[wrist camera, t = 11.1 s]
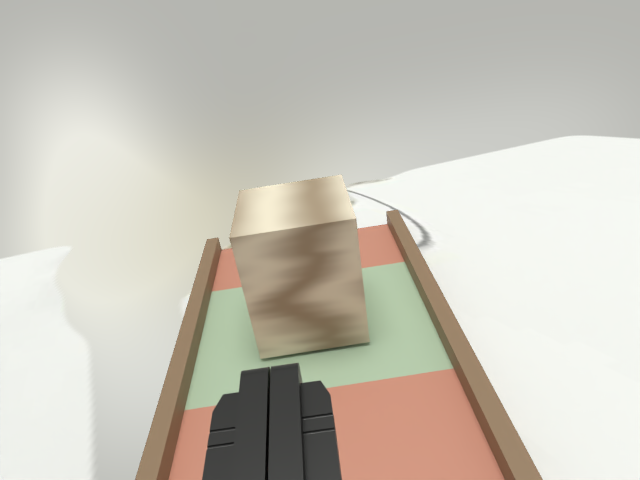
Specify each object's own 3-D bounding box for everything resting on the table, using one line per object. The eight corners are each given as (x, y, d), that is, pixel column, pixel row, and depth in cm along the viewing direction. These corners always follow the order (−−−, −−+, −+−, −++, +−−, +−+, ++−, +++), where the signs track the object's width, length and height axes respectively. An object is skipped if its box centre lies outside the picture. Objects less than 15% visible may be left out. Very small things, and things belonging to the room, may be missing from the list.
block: (260, 359, 34) (229, 238, 29) (263, 296, 41) (239, 190, 36) (369, 342, 34) (356, 218, 29) (354, 282, 41) (341, 174, 37)
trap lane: (111, 635, 21) (95, 612, 20) (211, 255, 51) (206, 239, 50) (568, 563, 21) (573, 537, 20) (398, 226, 51) (397, 209, 50)
